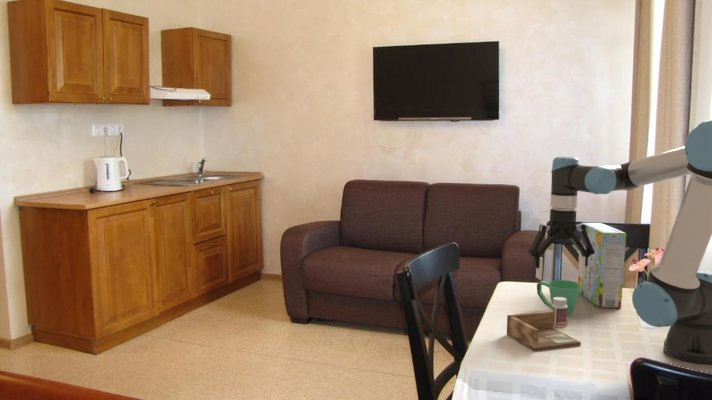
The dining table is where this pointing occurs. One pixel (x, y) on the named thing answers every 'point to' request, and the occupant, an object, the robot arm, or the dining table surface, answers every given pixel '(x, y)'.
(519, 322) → the wooden corner tray
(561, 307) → the pill bottle
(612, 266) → the snack box
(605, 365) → the dining table surface
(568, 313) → the mug
